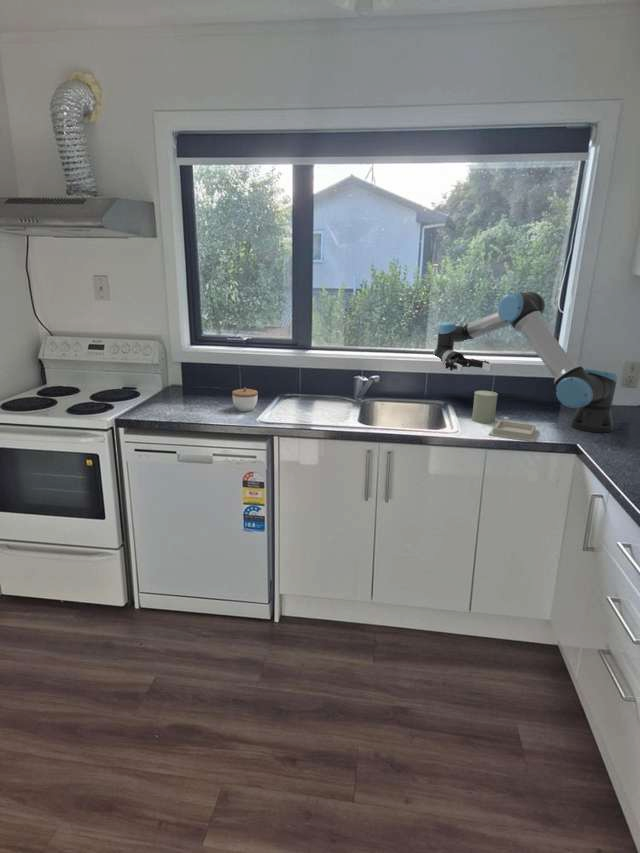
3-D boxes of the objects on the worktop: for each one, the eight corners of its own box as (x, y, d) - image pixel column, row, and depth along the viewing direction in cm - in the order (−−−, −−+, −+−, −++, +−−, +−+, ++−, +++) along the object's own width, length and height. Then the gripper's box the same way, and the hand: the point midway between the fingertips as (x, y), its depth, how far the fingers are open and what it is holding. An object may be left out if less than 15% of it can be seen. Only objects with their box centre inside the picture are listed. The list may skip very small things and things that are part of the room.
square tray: (496, 424, 216) (497, 418, 216) (538, 431, 209) (539, 424, 209) (488, 435, 203) (489, 428, 202) (533, 442, 196) (534, 435, 195)
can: (493, 424, 217) (496, 395, 213) (469, 421, 220) (472, 392, 217) (496, 419, 225) (499, 391, 221) (473, 416, 228) (476, 388, 225)
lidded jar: (227, 408, 230) (227, 387, 227) (248, 405, 237) (248, 384, 234) (241, 414, 223) (241, 392, 220) (262, 410, 230) (262, 388, 227)
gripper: (477, 367, 249) (502, 376, 230) (427, 368, 244) (448, 378, 224) (479, 351, 247) (504, 359, 227) (428, 351, 242) (449, 360, 222)
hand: (476, 368), depth 226 cm, fingers open, 13 cm apart
